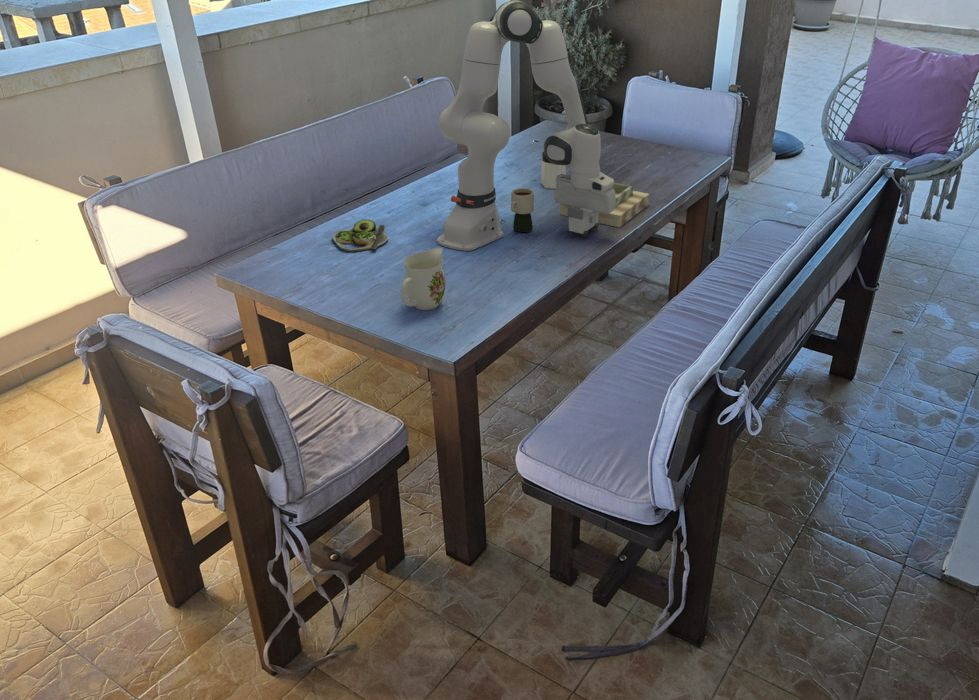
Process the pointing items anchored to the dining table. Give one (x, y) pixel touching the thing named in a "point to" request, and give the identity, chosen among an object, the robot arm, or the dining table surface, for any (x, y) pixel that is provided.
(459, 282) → the dining table surface
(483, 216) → the robot arm
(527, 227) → the character mug
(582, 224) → the grey boxy block
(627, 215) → the dock
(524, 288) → the dining table surface
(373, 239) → the avocado toast plate
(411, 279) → the pitcher
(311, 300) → the dining table surface
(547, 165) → the jar
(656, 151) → the dining table surface
